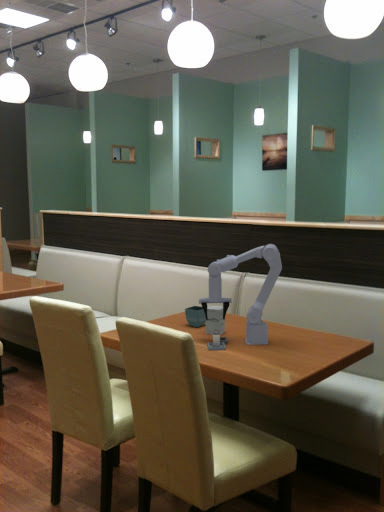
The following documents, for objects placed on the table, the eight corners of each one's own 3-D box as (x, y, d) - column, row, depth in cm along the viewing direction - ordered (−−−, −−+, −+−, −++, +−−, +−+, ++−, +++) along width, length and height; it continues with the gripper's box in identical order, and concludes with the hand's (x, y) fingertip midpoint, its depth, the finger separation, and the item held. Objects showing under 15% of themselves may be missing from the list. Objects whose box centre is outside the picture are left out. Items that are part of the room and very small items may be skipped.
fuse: (219, 345, 229) (219, 330, 228) (220, 348, 225) (220, 332, 225) (212, 346, 229) (212, 330, 228) (212, 348, 225) (212, 332, 225)
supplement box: (205, 334, 248) (205, 308, 247) (210, 330, 255) (210, 305, 254) (220, 336, 246) (220, 309, 244) (225, 332, 252) (225, 306, 251)
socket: (226, 341, 238) (226, 336, 237) (228, 345, 232) (228, 340, 231) (213, 341, 237) (213, 337, 237) (214, 345, 231) (214, 341, 231)
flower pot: (194, 322, 271) (194, 305, 270) (209, 325, 266) (209, 307, 265) (184, 326, 264) (184, 308, 263) (198, 328, 259) (198, 310, 258)
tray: (224, 345, 231) (224, 342, 231) (225, 350, 224) (225, 347, 223) (207, 346, 230) (207, 342, 230) (208, 351, 223) (208, 347, 223)
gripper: (230, 287, 240) (230, 316, 241) (198, 287, 239) (198, 317, 241) (232, 290, 233) (232, 320, 234) (199, 290, 232) (199, 321, 234)
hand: (215, 319), depth 237 cm, fingers open, 7 cm apart
